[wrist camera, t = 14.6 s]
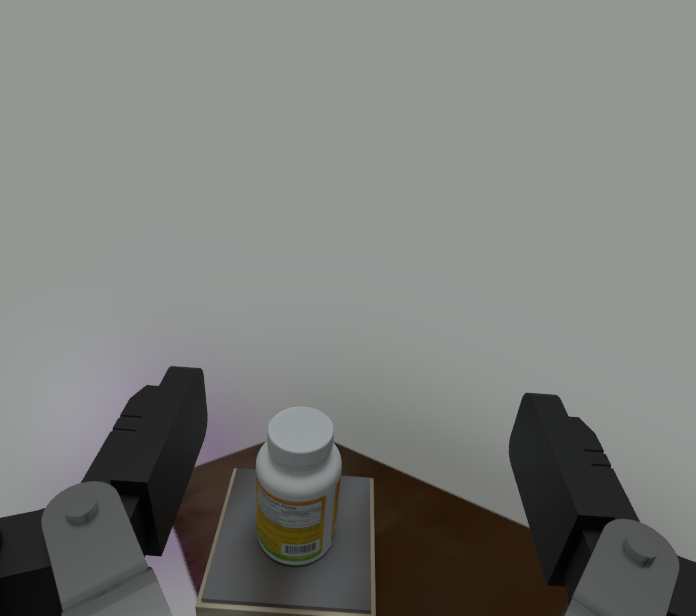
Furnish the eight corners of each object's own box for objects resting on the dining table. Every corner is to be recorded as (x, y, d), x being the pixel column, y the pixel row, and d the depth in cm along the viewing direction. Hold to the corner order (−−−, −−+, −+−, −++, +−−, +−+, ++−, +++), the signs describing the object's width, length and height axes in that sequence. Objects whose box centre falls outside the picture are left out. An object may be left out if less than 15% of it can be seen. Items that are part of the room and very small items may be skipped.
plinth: (369, 509, 44) (373, 475, 42) (370, 651, 34) (376, 615, 32) (235, 499, 43) (233, 464, 41) (199, 639, 34) (194, 603, 32)
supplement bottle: (295, 487, 40) (299, 387, 35) (350, 529, 37) (363, 426, 32) (240, 534, 36) (236, 428, 31) (297, 584, 33) (302, 477, 28)
